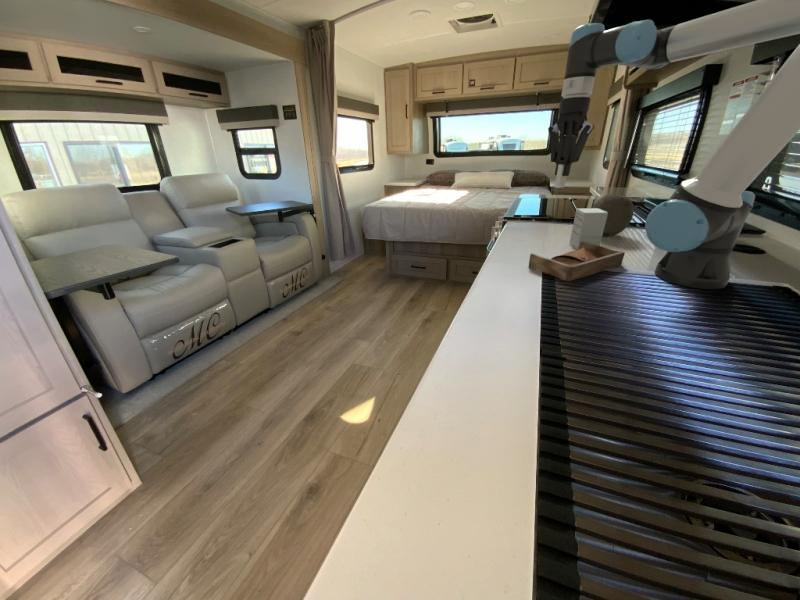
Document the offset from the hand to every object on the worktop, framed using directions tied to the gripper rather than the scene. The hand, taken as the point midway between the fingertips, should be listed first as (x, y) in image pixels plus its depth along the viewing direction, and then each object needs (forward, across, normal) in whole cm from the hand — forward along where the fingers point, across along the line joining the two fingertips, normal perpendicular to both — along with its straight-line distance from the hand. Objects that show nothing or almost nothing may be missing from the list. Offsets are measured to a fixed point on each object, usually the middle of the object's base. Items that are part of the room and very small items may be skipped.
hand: (559, 187), depth 101 cm
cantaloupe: (+21, -1, +36) cm, 42 cm away
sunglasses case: (+22, +12, -3) cm, 25 cm away
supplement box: (+21, +3, +15) cm, 26 cm away
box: (+21, +12, -4) cm, 25 cm away
